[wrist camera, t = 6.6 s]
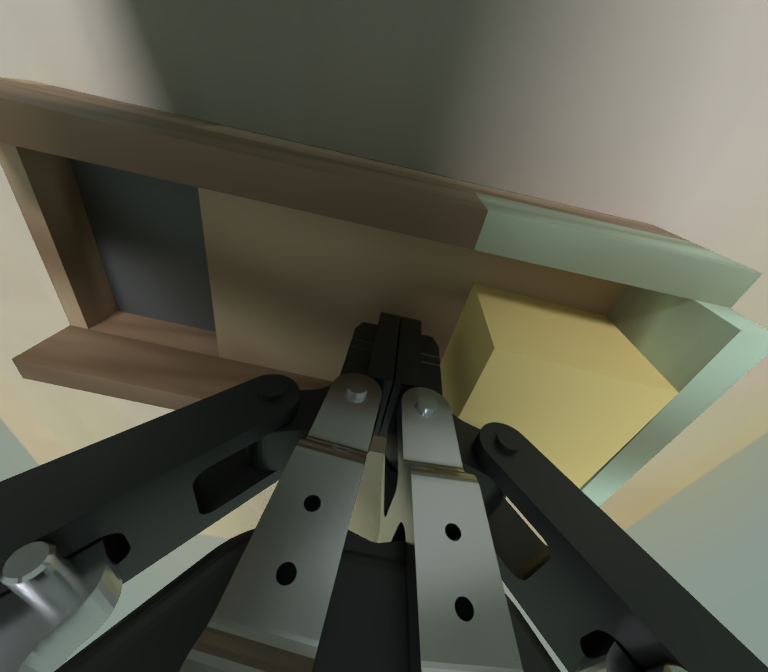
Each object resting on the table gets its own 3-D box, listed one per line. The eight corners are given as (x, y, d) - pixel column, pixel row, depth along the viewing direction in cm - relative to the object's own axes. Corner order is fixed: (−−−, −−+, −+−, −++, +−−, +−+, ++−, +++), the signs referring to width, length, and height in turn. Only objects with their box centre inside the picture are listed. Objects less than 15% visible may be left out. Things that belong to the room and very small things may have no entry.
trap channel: (30, 80, 11) (-289, 46, 6) (653, 225, 12) (825, 301, 7) (112, 321, 17) (-20, 405, 12) (530, 411, 17) (574, 527, 12)
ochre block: (473, 283, 11) (494, 348, 8) (605, 316, 12) (679, 392, 8) (432, 383, 14) (434, 462, 11) (539, 408, 14) (573, 494, 11)
